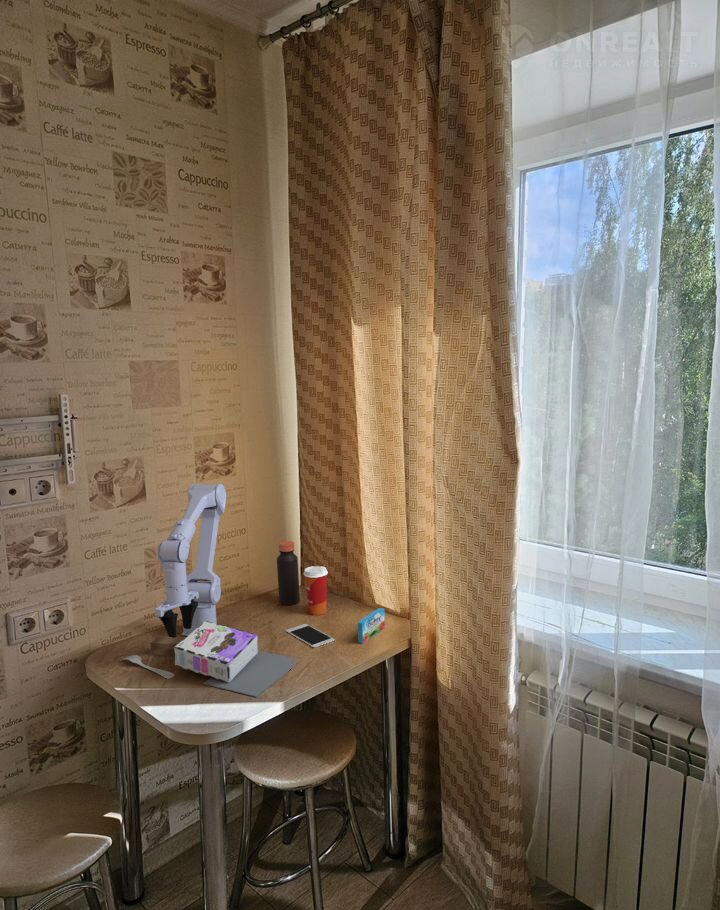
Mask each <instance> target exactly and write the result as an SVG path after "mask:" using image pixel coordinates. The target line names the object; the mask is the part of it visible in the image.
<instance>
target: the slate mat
mask: <svg viewBox="0 0 720 910" xmlns="http://www.w3.org/2000/svg"><path fill="white" fill-rule="evenodd" d="M291 658H292V659H293V661H295V660H296V659H297V661H300V660H301V659H300V660H299V658H295V659H294V657H291V656H290V657H289V656H286V655H280V654H276V653H271V652H267V651H266V652H265V651H262V650H258V653H257V654H256V655H255V656H254V657H253V658H252V659H251V661H250V662H249V663H248V664H247V665H246V666H245V667H244V668H243V669H242V670H241V671H240V672H239V673H238V674H237V675H236V676H235V677H234V678H233V679H232V680H231V682H230V683H227V682H224V681H221V680H218V679H215V678H212V677H210V678H209V679H207V680H206V681H204V682H203V683H202V684H203V685H205V686H209V687H213V688H216V689H217V688H218V689H220V690H224V691H225V690H226V691H229V692H233V693H237V694H241V695H244V696H249V697H253V698H258V697H259V696H260V695H262V694H263V693H264V692H265V691H267V689H269V688H270V687H272V686H273V685H274V684H275V683H277V682H278V681H279V680H280V679H282V677H284V676H285V675H286V674H288V673H289V672H290V671H291V670H292V669H294V668H295V667H296V666H297V665H296V664H295V663H296V662H295V663H292V659H291ZM290 661H291V662H290ZM289 662H290V663H289ZM295 665H296V666H295ZM294 666H295V667H294ZM293 667H294V668H293ZM291 668H292V669H291ZM290 669H291V670H290ZM289 670H290V671H289ZM288 671H289V672H288Z"/></svg>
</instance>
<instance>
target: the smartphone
mask: <svg viewBox="0 0 720 910" xmlns="http://www.w3.org/2000/svg"><path fill="white" fill-rule="evenodd" d="M287 632H288V633H287ZM285 633H287V634H289V633H290V634H291V636H292V635H293V636H292V637H294V636H295V637H296V638H295V637H294V638H295V639H297V638H298V640H299V639H300V640H302V641H304V642H305V643H307V644H309V645H311V646H312V647H318V646H320V645H323V644H326V643H329V642H332V641H334V640H335V641H336V639H335V638H333V637H332V636H329V635H328V634H326V633H324V632H322V631H321V630H318V629H317V628H315V627H314V626H311V625H309V624H307V623H303V624H300V625H298V626H295V627H294V626H293V627H291V628H287V629H285ZM290 634H289V635H290ZM300 640H299V641H300ZM302 641H301V642H302ZM304 642H303V643H304ZM305 643H304V644H305ZM332 643H333V642H332ZM307 644H306V645H307ZM309 645H308V646H309ZM312 647H311V648H312Z"/></svg>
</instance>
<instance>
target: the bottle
mask: <svg viewBox="0 0 720 910" xmlns="http://www.w3.org/2000/svg"><path fill="white" fill-rule="evenodd" d="M278 551H279V555H278V556H277V557H276V570H277V586H278V587H277V588H278V602H279V604H280V605H282V606H294V605H295V606H296V605H297V604H299V603H300V602H301V598H300V595H301V594H300V579H299V578H300V577H299V560H298V555H296V554H295V553H294V551H295V542H294V541H291V540H285V541H281V542H278Z"/></svg>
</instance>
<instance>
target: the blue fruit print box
mask: <svg viewBox="0 0 720 910" xmlns="http://www.w3.org/2000/svg"><path fill="white" fill-rule="evenodd" d="M385 613H386V612H385V608H383V607H379V608H377V609H375V610H374V611H372V612H370V613H369V614H368V615H366V616H365V617H363V618H362V619H360V620H359V621H357V638H358V640H357V642H358V643H359V644H363V645H364V644H365V643H367V642H369V641H370V639H372V638H374V637H375V636H377V634H380V633H381V632H382V631H383V630H385V628H386V616H385V615H386V614H385ZM373 636H374V637H373ZM366 641H367V642H366Z"/></svg>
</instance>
